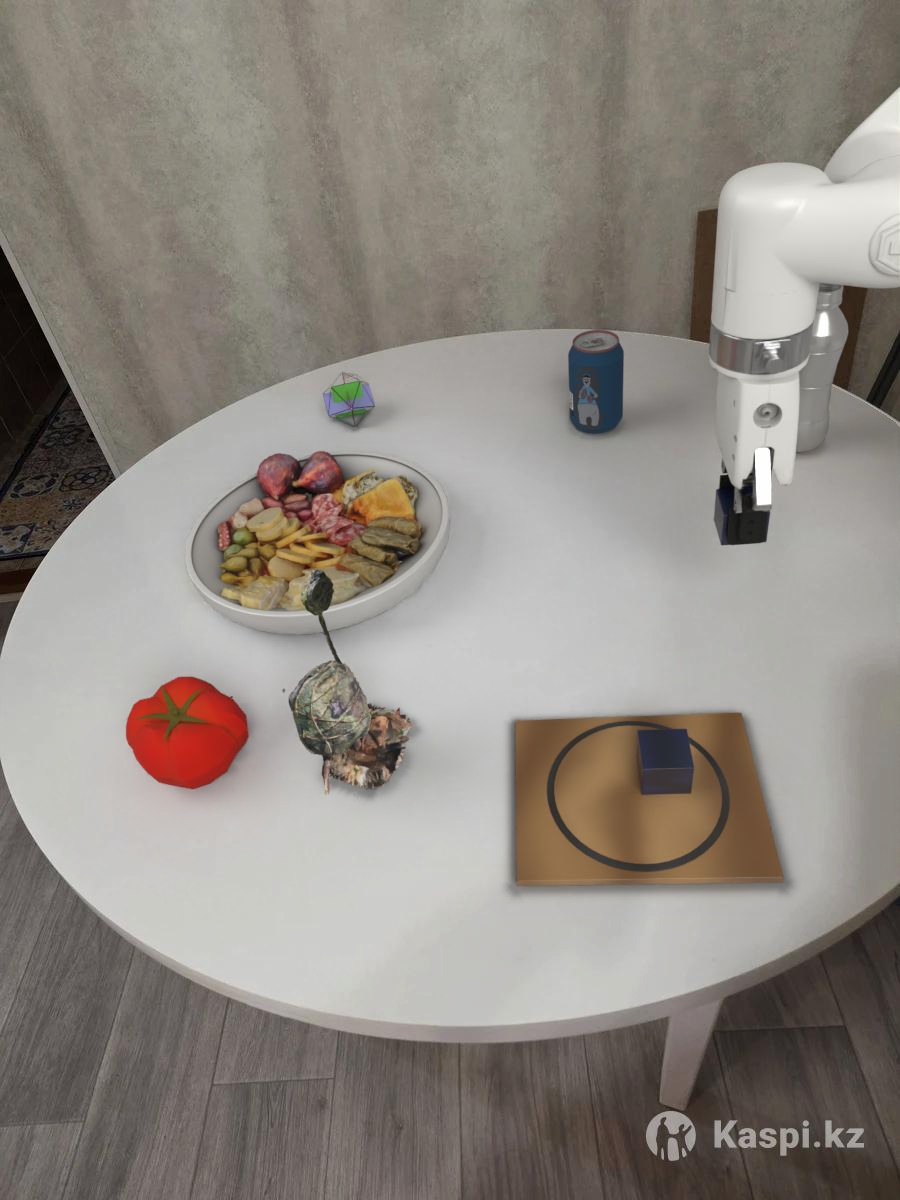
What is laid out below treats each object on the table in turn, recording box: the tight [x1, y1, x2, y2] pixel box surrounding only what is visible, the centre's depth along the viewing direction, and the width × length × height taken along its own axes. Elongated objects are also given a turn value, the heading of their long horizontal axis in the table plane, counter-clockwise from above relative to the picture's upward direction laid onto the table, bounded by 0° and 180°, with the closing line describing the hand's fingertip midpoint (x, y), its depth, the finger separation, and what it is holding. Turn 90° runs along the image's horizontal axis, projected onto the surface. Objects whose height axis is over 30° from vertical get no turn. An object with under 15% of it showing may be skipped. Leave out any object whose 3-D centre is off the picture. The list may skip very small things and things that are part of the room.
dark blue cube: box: [636, 729, 694, 795], centre depth 71 cm, size 4×4×4 cm
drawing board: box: [515, 712, 784, 887], centre depth 72 cm, size 20×16×1 cm
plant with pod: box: [282, 569, 414, 796], centre depth 72 cm, size 8×11×20 cm
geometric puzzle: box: [321, 371, 376, 429], centre depth 122 cm, size 7×7×8 cm
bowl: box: [184, 450, 451, 635], centre depth 98 cm, size 30×30×8 cm
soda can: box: [567, 329, 625, 436], centre depth 112 cm, size 7×7×12 cm
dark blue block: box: [713, 487, 771, 546], centre depth 79 cm, size 4×4×4 cm
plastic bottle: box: [796, 283, 849, 453], centre depth 100 cm, size 6×7×20 cm
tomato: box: [125, 676, 250, 790], centre depth 79 cm, size 10×11×6 cm
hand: (740, 524), depth 80 cm, fingers closed on dark blue block, 4 cm apart
